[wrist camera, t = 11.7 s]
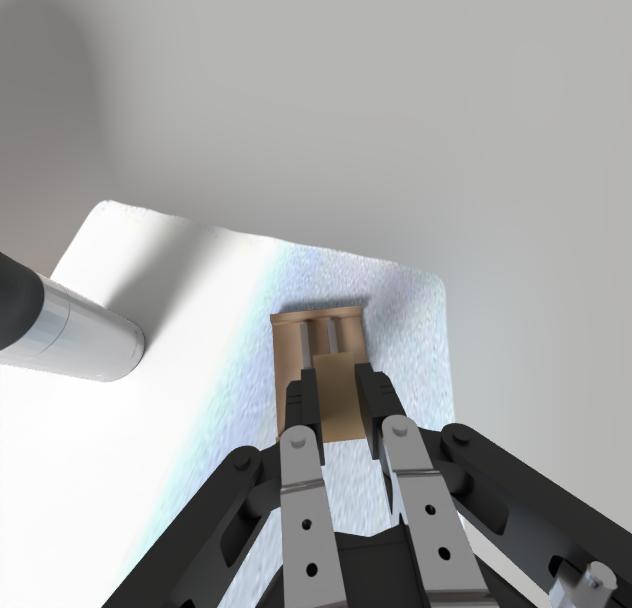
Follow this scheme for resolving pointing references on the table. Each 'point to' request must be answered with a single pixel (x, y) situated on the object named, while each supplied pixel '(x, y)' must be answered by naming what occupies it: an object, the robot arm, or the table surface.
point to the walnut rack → (311, 344)
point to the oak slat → (338, 397)
